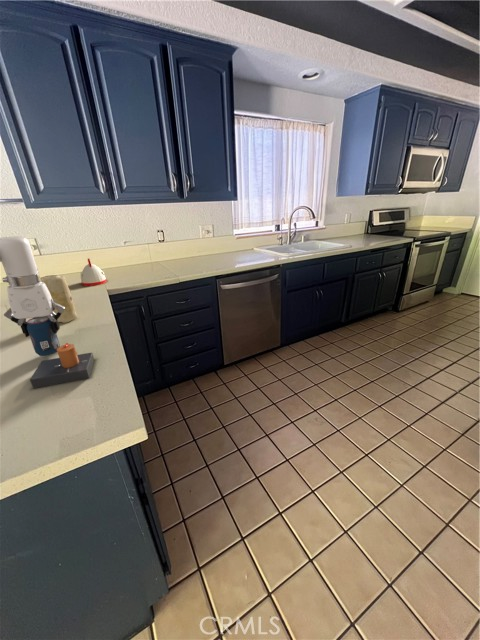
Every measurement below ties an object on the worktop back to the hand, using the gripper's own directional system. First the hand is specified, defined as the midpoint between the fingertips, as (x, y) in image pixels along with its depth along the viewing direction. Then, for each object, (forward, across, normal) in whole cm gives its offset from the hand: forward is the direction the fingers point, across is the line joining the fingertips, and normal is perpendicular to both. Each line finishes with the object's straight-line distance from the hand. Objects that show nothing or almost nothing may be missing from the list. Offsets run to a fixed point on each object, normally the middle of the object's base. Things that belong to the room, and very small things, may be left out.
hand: (42, 333), depth 86 cm
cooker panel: (+8, +8, -14) cm, 18 cm away
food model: (+8, -2, +30) cm, 31 cm away
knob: (+5, +10, -14) cm, 18 cm away
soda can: (+7, 0, 0) cm, 7 cm away
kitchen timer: (+8, +1, +91) cm, 92 cm away
